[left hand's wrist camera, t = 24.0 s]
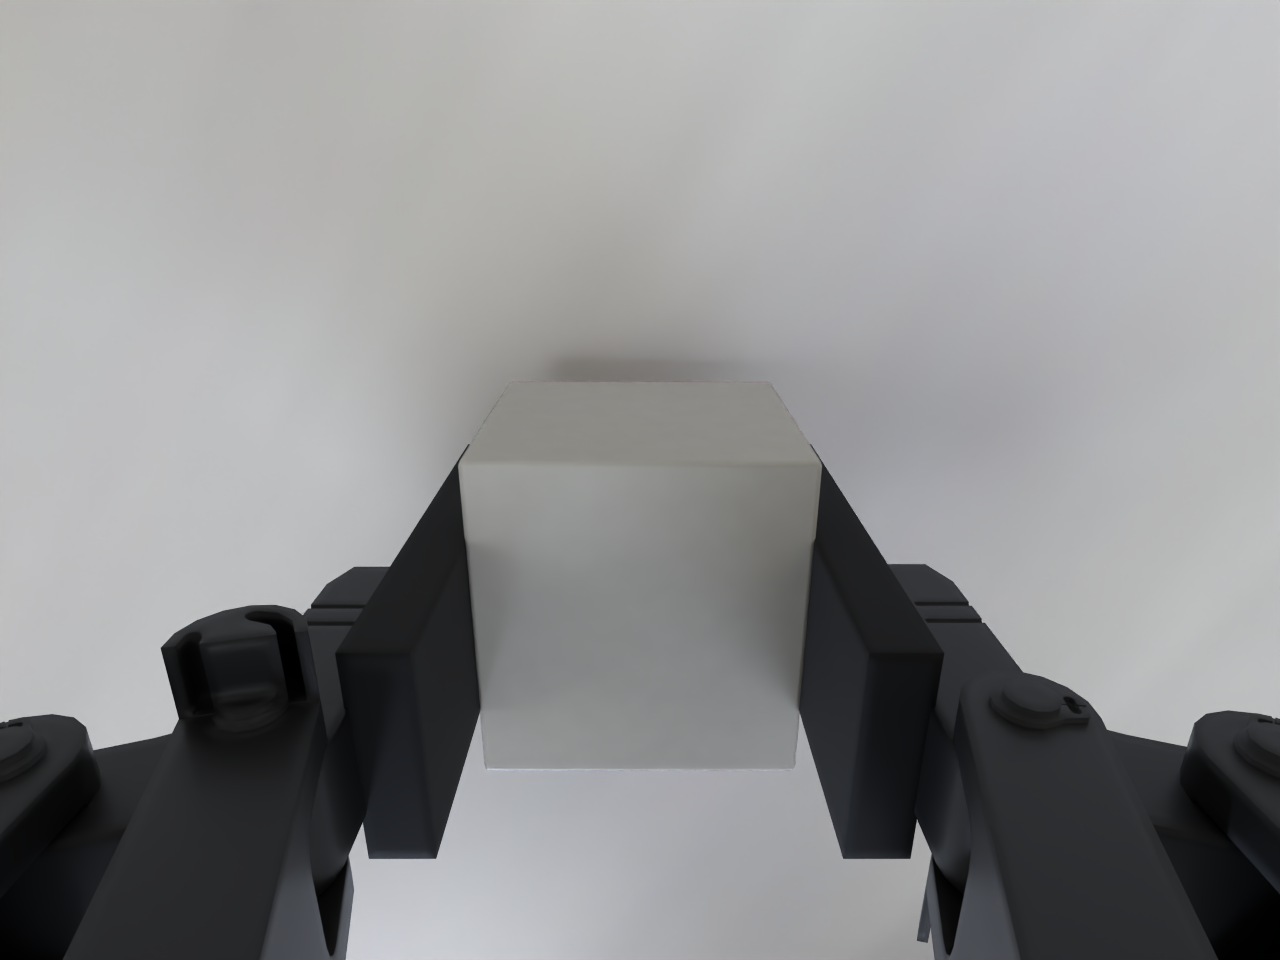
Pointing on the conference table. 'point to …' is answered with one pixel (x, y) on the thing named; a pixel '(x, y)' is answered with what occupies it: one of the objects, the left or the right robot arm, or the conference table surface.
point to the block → (639, 575)
